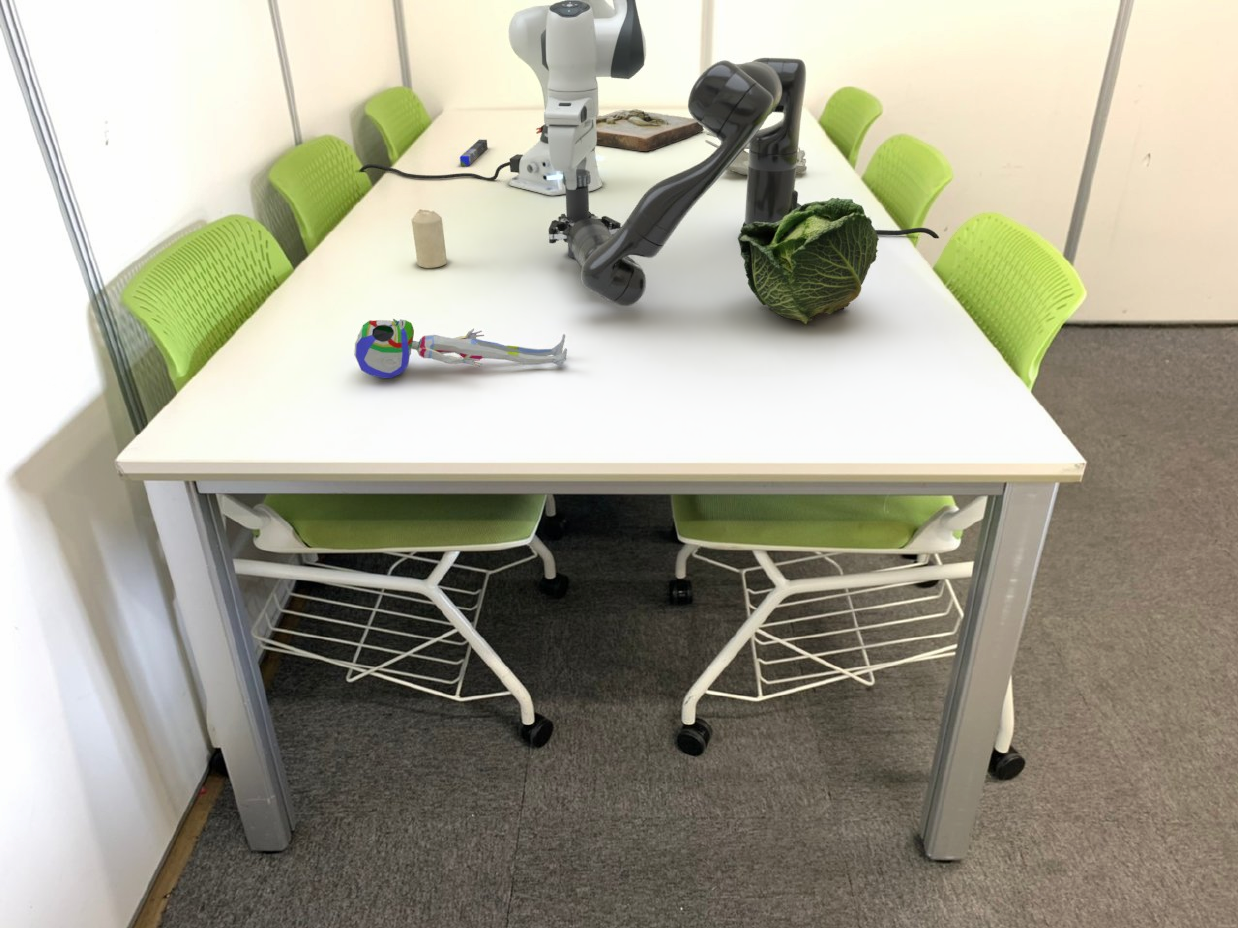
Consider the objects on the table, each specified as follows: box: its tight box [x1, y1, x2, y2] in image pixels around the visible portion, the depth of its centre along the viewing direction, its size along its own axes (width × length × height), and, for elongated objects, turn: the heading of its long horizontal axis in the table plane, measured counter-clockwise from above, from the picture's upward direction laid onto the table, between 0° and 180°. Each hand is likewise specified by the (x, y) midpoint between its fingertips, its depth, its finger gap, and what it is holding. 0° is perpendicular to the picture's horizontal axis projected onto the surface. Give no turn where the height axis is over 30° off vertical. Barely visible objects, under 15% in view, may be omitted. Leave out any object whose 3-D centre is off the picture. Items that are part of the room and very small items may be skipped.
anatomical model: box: [705, 131, 808, 176], centre depth 220 cm, size 15×9×25 cm
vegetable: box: [737, 197, 879, 325], centre depth 143 cm, size 20×19×20 cm
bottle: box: [565, 185, 590, 260], centre depth 169 cm, size 4×4×15 cm
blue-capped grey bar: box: [459, 139, 488, 167], centre depth 240 cm, size 2×2×20 cm
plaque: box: [596, 108, 705, 152], centre depth 257 cm, size 30×7×30 cm
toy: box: [353, 318, 568, 379], centre depth 130 cm, size 10×8×30 cm
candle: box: [411, 209, 448, 269], centre depth 167 cm, size 6×6×10 cm
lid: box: [562, 169, 591, 187], centre depth 165 cm, size 5×5×2 cm
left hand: (576, 184), depth 166 cm, fingers closed on lid, 5 cm apart
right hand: (575, 218), depth 172 cm, fingers closed on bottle, 4 cm apart
